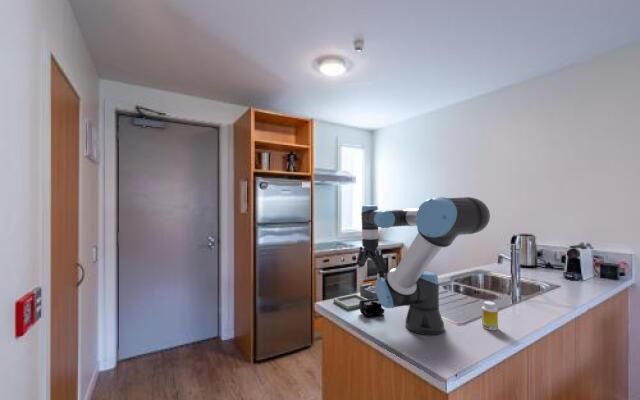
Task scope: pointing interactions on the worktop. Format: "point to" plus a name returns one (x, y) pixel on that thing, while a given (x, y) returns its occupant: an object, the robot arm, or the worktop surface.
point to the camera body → (368, 291)
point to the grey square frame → (349, 301)
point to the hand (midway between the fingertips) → (371, 283)
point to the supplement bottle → (489, 316)
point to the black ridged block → (371, 308)
